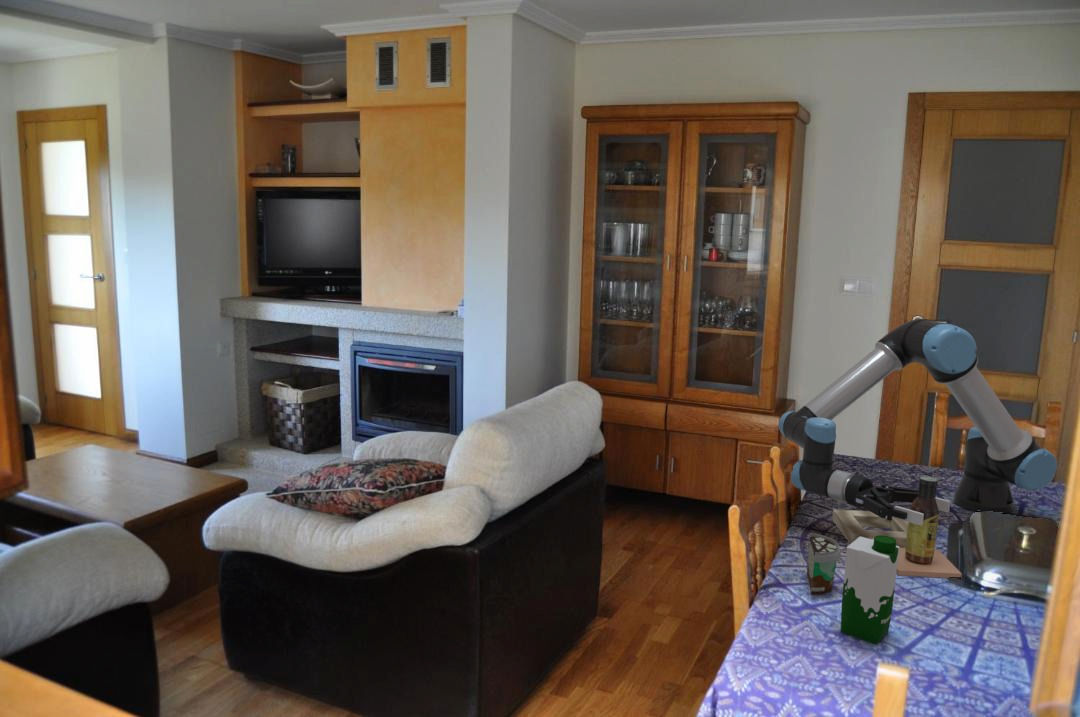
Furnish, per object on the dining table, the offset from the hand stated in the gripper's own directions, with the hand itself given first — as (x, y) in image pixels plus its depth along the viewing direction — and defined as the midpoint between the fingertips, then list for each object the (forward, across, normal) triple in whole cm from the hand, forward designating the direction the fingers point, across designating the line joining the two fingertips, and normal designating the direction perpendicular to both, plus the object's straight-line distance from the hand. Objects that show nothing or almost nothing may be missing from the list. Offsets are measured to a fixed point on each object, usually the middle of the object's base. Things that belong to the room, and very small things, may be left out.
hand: (936, 513), depth 197 cm
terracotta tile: (-3, 0, -14) cm, 14 cm away
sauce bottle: (-3, 0, -12) cm, 13 cm away
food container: (-11, +29, -14) cm, 34 cm away
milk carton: (+6, +41, -14) cm, 44 cm away
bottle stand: (-18, -10, -14) cm, 25 cm away
